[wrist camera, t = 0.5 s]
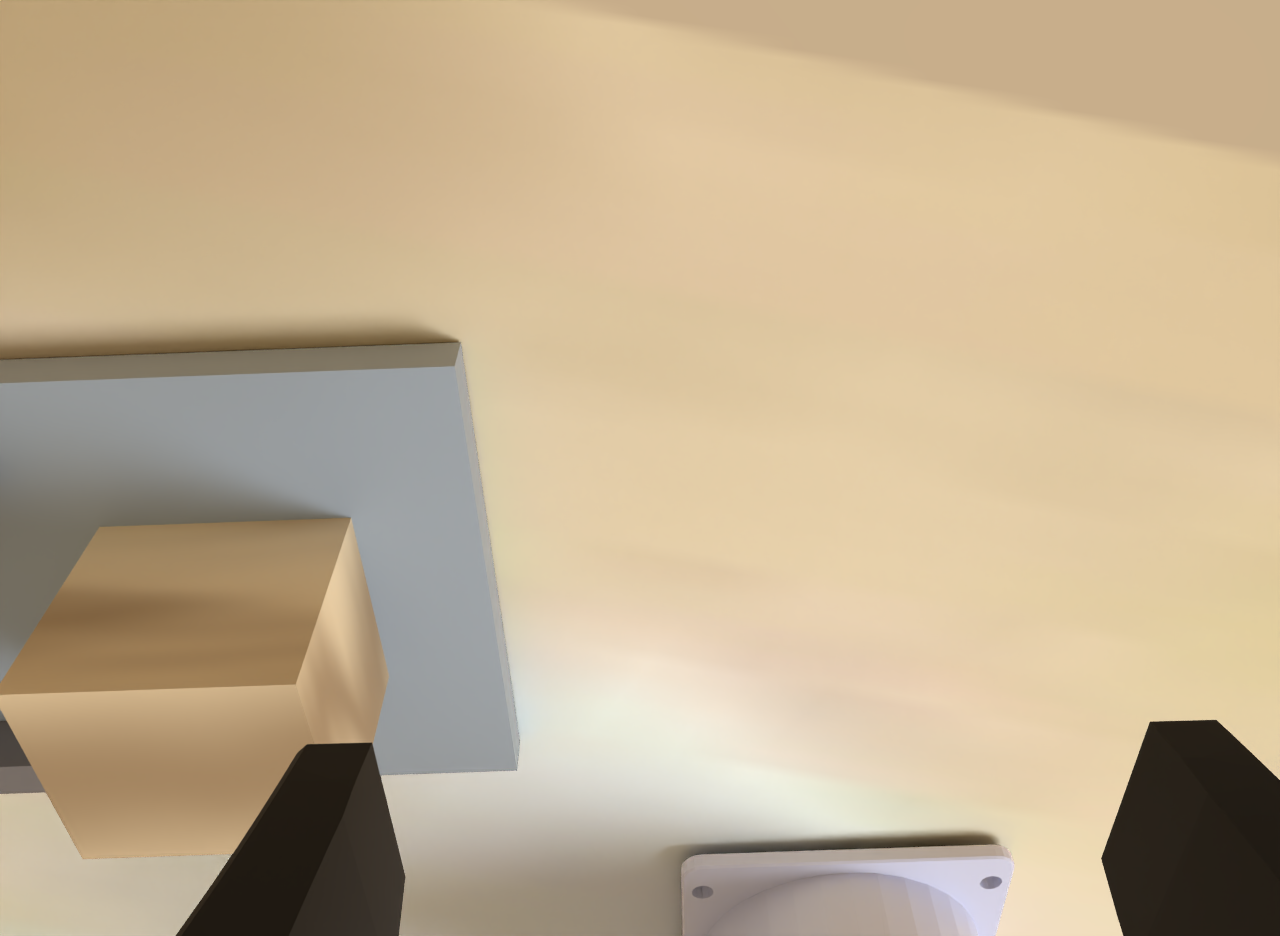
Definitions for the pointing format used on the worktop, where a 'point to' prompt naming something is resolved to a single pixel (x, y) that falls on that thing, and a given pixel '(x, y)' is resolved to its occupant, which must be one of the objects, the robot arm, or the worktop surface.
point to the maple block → (193, 678)
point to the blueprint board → (276, 507)
